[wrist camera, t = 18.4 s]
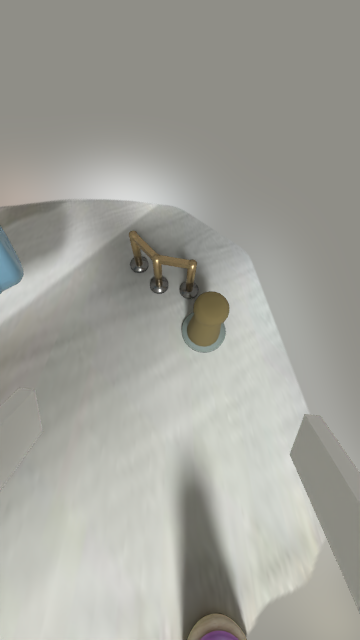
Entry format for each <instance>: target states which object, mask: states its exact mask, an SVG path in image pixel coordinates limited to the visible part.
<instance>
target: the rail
mask: <svg viewBox="0 0 360 640" xmlns="http://www.w3.org/2000/svg"><path fill="white" fill-rule="evenodd" d="M129 237H130V241H131V246H132V250H133V254H134V258H133V259H132V260H131V263H130V265H131V268H132V270H133V271H134V272H137V273H141V272H144V271H146V270H147V268H148V261H147V259H146V258H144V257H141V252H140V248H141V249H142V250H143V251H144V252H145V253H146V254H147V255H148V256H149V257H150V258H151V259H152V260H153V267H154V275H155V278H153V279H152V280H151V282H150V288H151V290H152V291H153V292H154V293H157V294H161V293H164V292H165V291H166V290H167V289H168V281H167V280H166V279H165V278H164V277H162V266H161V264H163V265H169V266H175V267H181V268H187V269H188V271H187V280H186V282H184V283H183V284H182V285H181V286H180V294H181V295H182V296H183V297H184V298H187V299H191V298H194V297H195V296H196V295H197V293H198V287H197V285H196V284H195V283H194V278H195V272H196V266H197V262H196V261H195V260H186V259H180V258H174V257H168V256H162V255H159V254H157V253H156V252H155V251H154V250H153V249H152V248H151V247H150V246H149V245H148V244H147V243H146V242H145V241H144V240H143V239H142V238H141V237H140V236H139V235H138V234H137V232H136V231H130V232H129Z"/></svg>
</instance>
